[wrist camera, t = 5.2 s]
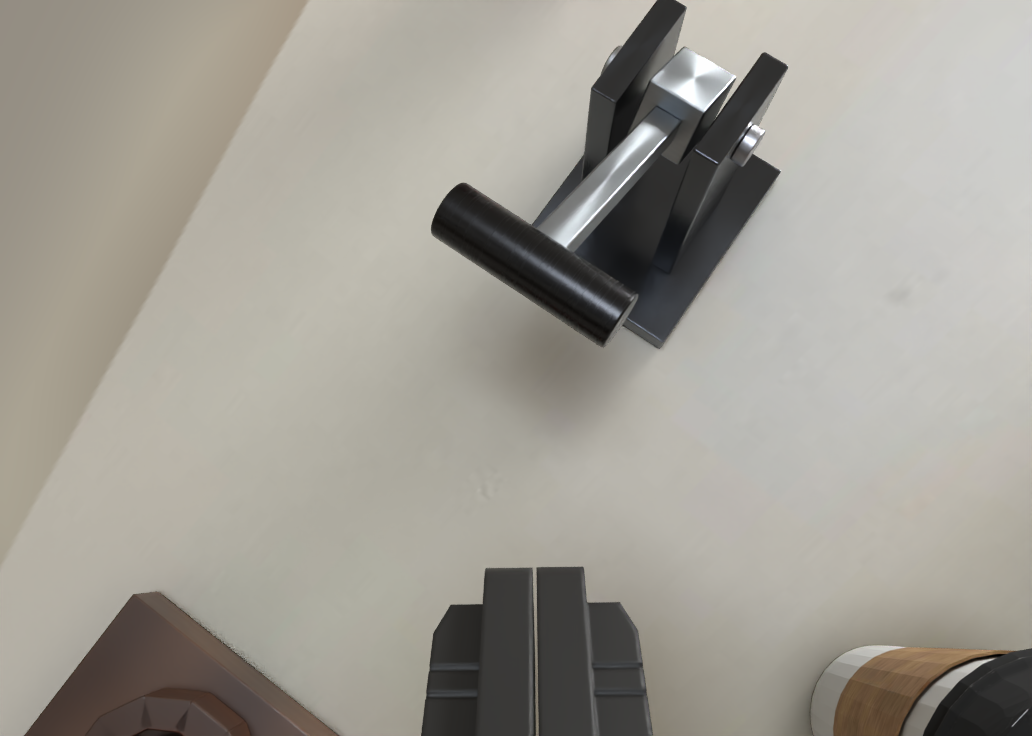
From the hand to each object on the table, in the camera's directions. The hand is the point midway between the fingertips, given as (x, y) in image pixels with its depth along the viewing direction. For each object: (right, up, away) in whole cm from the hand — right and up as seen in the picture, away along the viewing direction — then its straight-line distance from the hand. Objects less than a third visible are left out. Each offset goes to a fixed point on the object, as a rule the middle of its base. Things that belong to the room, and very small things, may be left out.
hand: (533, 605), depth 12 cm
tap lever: (+3, +9, +15) cm, 18 cm away
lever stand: (+6, +11, +26) cm, 29 cm away
